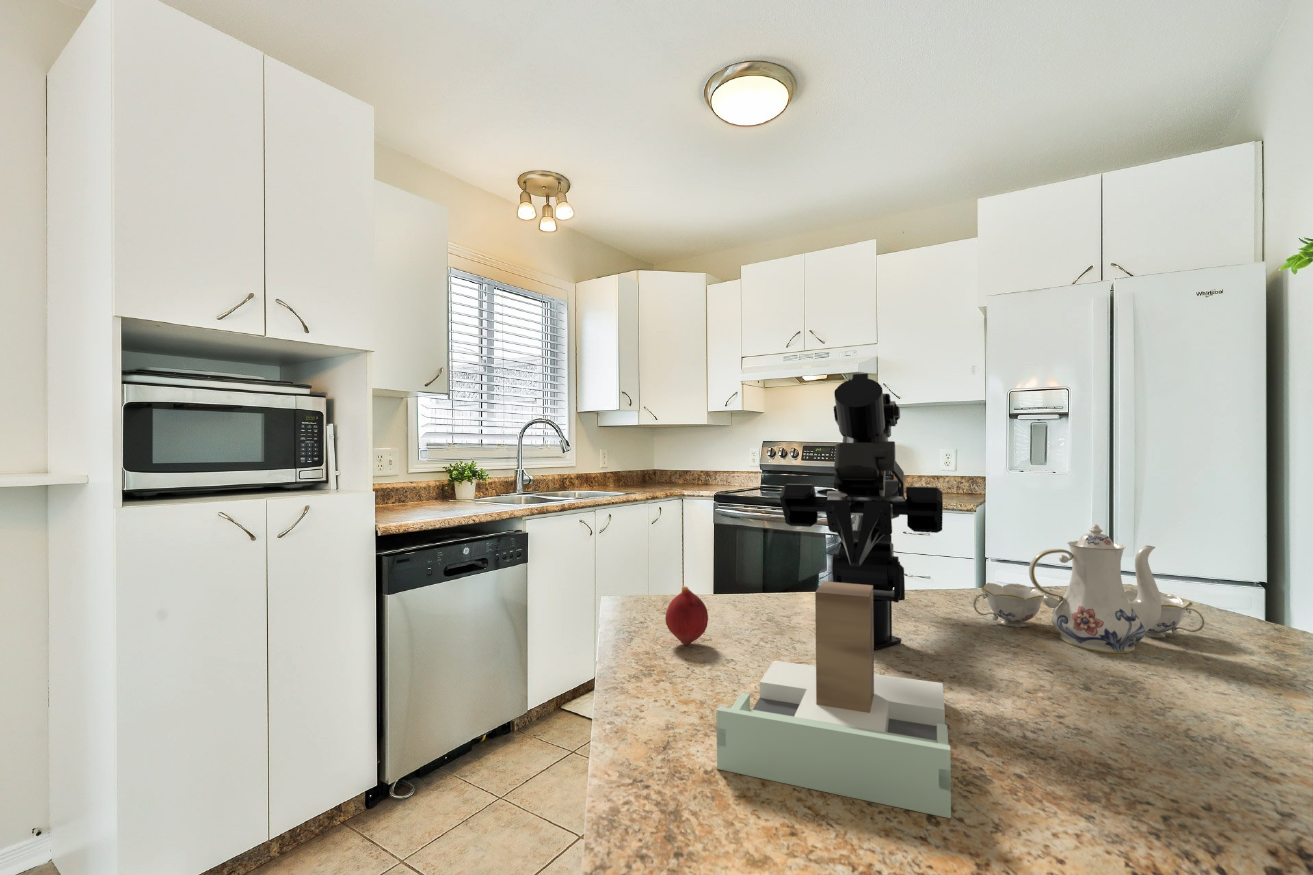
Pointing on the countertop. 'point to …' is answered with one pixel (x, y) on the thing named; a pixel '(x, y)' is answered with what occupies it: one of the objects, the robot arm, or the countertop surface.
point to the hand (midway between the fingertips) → (854, 563)
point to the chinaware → (1094, 599)
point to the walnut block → (844, 646)
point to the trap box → (843, 740)
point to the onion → (686, 616)
